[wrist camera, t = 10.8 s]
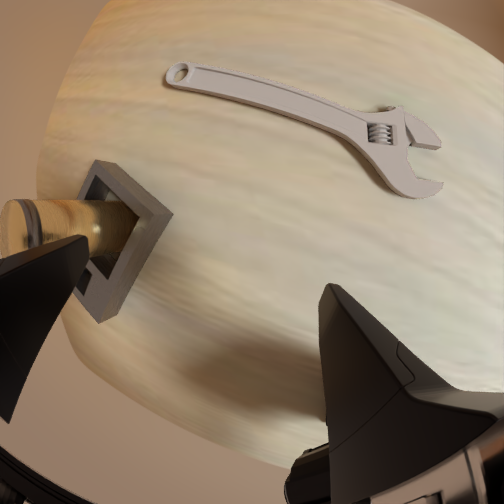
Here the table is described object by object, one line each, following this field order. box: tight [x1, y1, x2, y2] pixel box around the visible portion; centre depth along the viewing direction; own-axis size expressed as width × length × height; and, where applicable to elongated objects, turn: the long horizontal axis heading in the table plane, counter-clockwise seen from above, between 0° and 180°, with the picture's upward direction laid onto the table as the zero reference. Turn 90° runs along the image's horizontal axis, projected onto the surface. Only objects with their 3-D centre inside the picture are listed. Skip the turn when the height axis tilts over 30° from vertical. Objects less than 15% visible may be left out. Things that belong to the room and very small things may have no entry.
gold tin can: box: [0, 199, 139, 258], centre depth 18 cm, size 5×5×12 cm
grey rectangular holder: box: [73, 160, 173, 324], centre depth 23 cm, size 13×9×3 cm
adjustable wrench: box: [166, 61, 443, 199], centre depth 18 cm, size 25×6×2 cm, turn 61°
